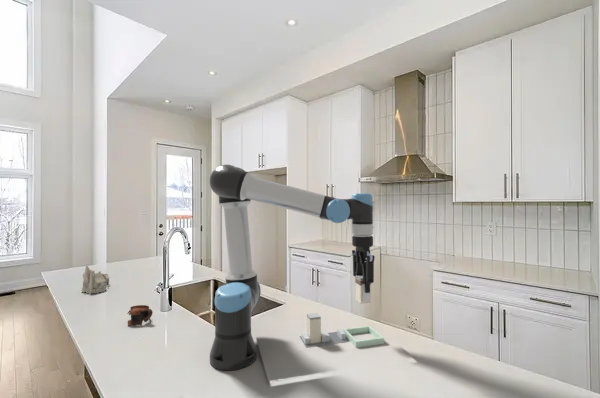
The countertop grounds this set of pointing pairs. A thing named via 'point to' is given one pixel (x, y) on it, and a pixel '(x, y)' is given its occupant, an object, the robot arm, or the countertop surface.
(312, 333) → the block
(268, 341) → the countertop surface
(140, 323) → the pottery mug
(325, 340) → the block
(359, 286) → the block
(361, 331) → the tray
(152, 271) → the countertop surface
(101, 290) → the ceramic cottage
